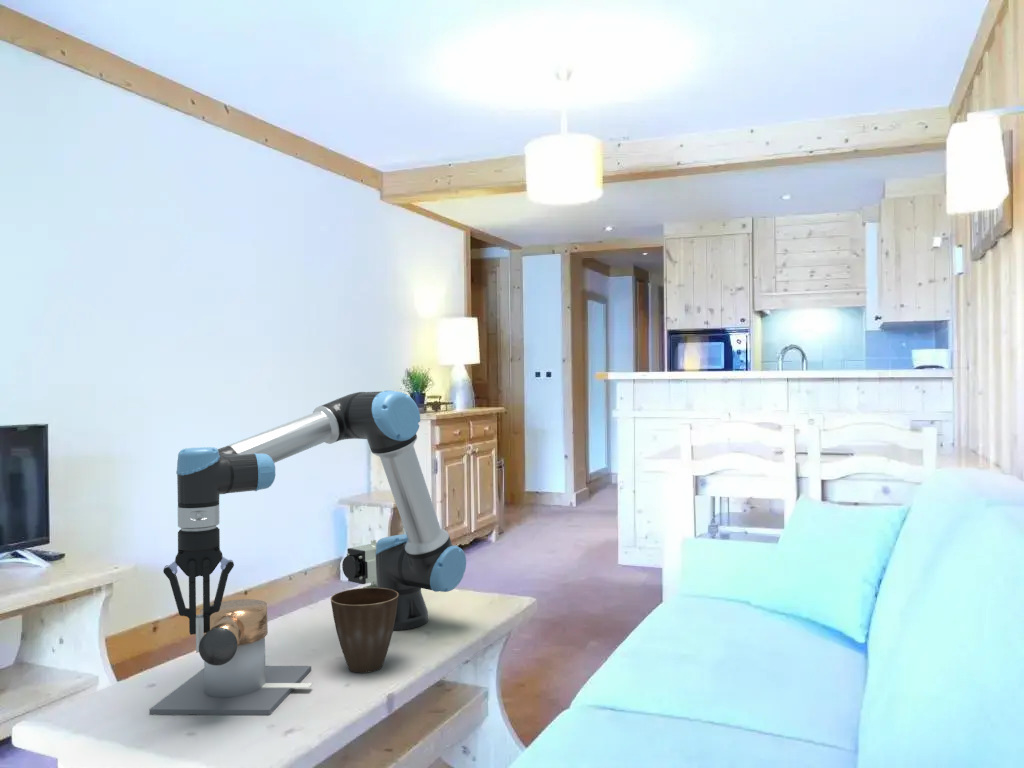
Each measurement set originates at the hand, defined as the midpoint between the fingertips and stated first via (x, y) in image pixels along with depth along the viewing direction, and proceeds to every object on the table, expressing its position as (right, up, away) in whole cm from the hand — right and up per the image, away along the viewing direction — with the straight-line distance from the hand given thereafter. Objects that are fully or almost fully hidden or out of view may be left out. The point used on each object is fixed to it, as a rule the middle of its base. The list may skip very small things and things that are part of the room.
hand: (199, 650), depth 151 cm
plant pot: (+28, -12, +24) cm, 39 cm away
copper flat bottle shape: (+3, -2, +7) cm, 8 cm away
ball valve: (+20, -13, +81) cm, 84 cm away
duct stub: (+5, -13, +12) cm, 18 cm away
